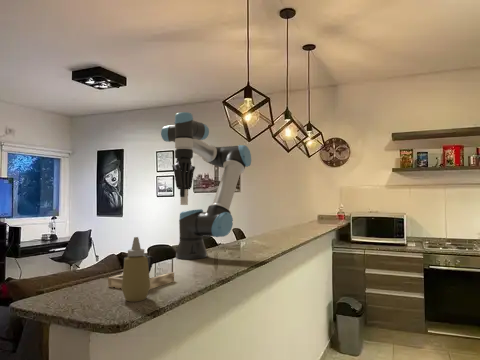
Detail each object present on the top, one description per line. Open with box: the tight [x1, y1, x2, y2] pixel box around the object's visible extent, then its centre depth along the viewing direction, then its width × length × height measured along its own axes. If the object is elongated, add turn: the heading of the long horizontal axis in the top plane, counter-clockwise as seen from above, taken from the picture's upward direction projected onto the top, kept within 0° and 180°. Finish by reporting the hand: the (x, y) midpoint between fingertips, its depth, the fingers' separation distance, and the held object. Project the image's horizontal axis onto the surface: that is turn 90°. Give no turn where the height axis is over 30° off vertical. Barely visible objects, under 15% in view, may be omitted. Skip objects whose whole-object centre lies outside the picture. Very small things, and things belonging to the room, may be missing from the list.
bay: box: [107, 271, 175, 290], centre depth 125 cm, size 16×15×3 cm
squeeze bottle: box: [121, 236, 150, 303], centre depth 106 cm, size 8×8×18 cm
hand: (184, 204), depth 153 cm, fingers closed
